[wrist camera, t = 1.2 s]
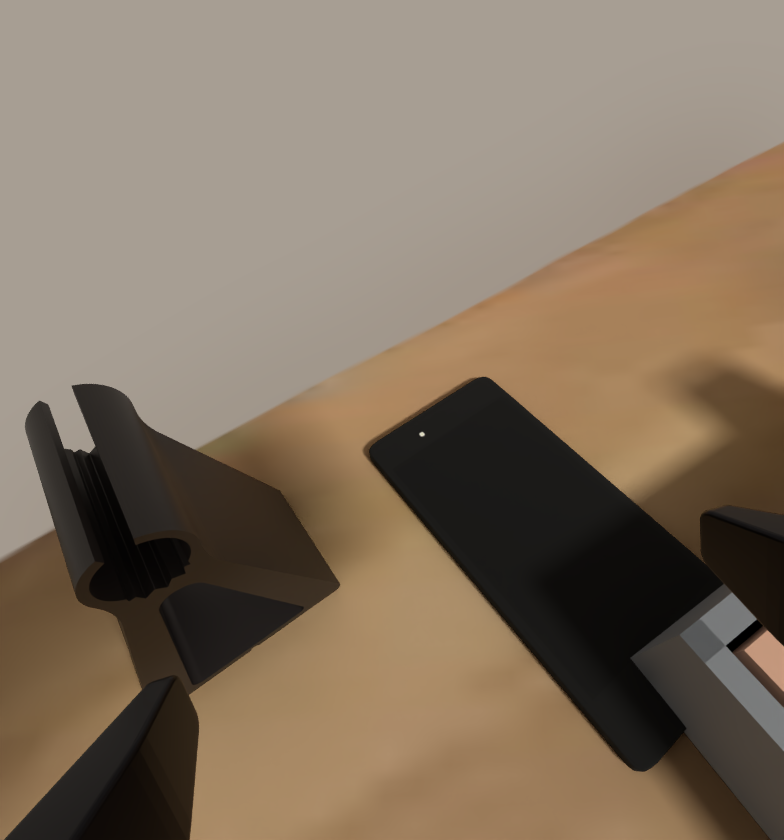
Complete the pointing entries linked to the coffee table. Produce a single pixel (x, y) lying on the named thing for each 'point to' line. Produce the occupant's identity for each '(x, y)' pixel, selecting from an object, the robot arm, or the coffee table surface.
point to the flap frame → (723, 703)
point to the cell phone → (553, 554)
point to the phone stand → (173, 541)
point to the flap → (764, 661)
